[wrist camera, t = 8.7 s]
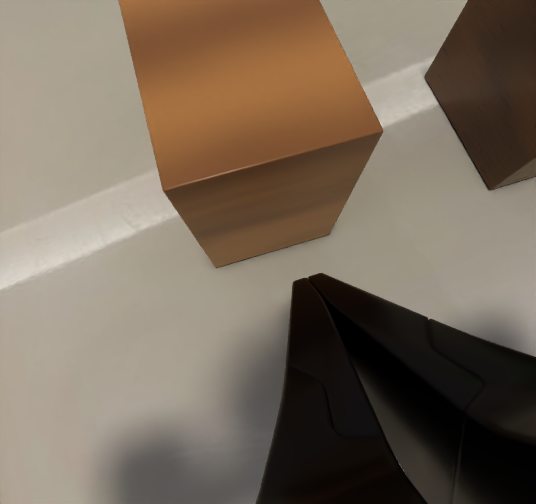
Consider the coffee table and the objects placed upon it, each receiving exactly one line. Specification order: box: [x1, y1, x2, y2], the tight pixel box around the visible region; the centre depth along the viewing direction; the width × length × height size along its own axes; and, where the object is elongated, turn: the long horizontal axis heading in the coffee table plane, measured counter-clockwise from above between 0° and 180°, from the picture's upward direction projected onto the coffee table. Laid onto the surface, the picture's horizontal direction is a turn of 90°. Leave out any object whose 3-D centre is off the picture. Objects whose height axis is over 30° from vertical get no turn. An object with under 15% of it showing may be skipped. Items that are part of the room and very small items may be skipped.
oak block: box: [119, 0, 383, 268], centre depth 13 cm, size 8×6×8 cm
